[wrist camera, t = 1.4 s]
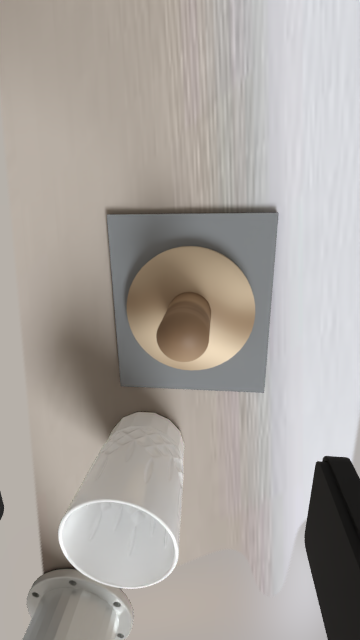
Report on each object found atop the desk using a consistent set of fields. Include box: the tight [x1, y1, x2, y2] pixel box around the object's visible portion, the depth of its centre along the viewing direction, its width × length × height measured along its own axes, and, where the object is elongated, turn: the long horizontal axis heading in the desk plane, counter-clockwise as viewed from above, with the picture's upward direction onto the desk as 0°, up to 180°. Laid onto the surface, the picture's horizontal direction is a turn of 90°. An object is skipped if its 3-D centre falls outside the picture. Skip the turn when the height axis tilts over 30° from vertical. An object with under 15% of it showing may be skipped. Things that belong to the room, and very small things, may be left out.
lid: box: [127, 246, 255, 370], centre depth 23 cm, size 10×10×6 cm
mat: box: [107, 213, 278, 393], centre depth 26 cm, size 14×12×1 cm
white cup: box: [58, 412, 184, 589], centre depth 26 cm, size 8×8×10 cm
